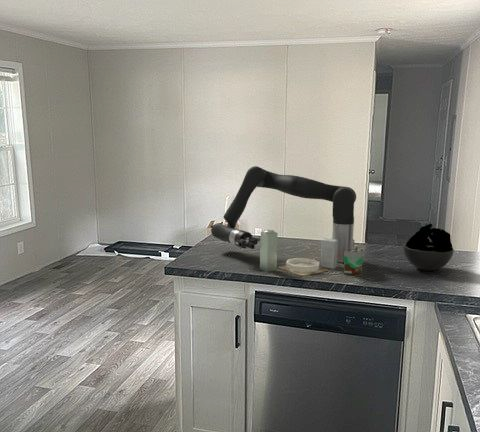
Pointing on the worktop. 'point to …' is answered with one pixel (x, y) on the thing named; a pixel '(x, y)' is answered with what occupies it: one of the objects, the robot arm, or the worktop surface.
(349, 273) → the food container
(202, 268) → the worktop surface
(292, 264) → the bowl
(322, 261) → the skincare box
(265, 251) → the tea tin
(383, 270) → the worktop surface
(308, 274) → the board
